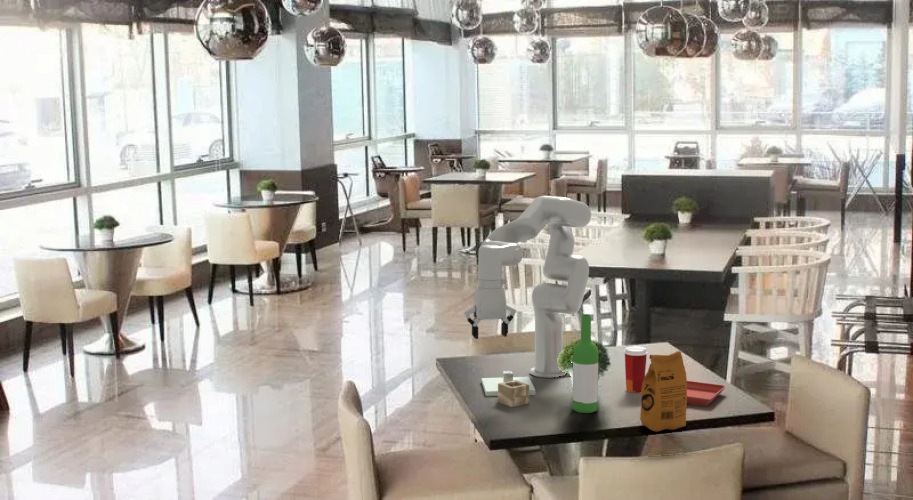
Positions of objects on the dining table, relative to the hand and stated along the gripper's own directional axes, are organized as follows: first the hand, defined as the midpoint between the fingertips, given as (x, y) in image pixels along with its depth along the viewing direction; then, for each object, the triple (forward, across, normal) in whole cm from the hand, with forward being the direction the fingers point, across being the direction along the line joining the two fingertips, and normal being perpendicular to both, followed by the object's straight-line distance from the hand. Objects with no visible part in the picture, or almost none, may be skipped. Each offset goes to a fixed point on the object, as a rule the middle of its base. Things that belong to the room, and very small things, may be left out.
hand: (489, 336), depth 357 cm
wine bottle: (+20, -23, +23) cm, 38 cm away
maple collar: (+20, -5, +8) cm, 22 cm away
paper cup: (+19, -47, +9) cm, 52 cm away
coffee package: (+20, -38, +45) cm, 62 cm away
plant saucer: (+20, -60, +22) cm, 67 cm away
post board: (+20, -9, -7) cm, 23 cm away
